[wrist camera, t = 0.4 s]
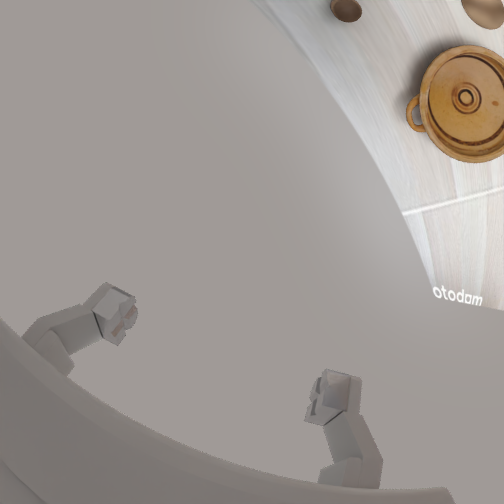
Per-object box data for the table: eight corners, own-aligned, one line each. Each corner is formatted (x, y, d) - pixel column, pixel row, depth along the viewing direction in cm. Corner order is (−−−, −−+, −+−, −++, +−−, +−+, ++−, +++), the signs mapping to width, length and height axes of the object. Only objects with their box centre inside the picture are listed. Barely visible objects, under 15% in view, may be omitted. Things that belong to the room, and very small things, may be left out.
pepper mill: (325, 1, 30) (326, 2, 24) (347, -6, 28) (353, -7, 22) (337, 20, 33) (340, 26, 27) (359, 13, 31) (367, 18, 25)
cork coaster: (452, -19, 17) (453, -18, 17) (492, -18, 12) (494, -18, 11) (471, 29, 24) (472, 30, 23) (508, 28, 18) (510, 29, 18)
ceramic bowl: (414, 153, 51) (422, 176, 46) (377, 51, 36) (385, 61, 31) (520, 133, 34) (536, 153, 29) (504, 31, 19) (526, 42, 15)
